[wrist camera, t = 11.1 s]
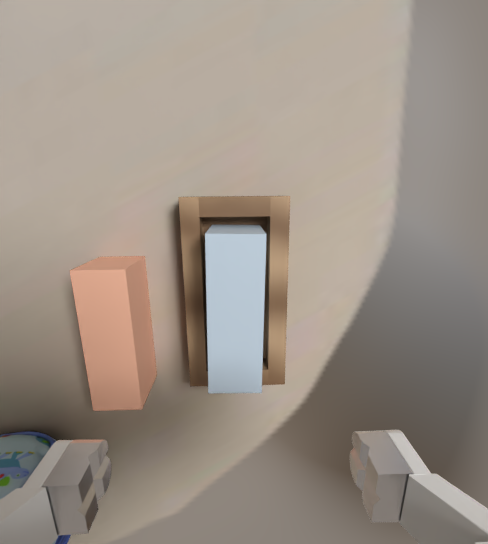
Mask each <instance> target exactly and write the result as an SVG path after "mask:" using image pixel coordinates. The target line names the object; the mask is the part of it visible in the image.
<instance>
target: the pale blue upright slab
mask: <svg viewBox="0 0 488 544" xmlns="http://www.w3.org/2000/svg"><path fill="white" fill-rule="evenodd" d="M205 253H206V300H207V346H208V393H262V364H263V332H264V299H265V267H266V233H265V231H264V230H263V229H262V228H261V226H260V225H213V224H212V225H211V227H210V228H209V229H208V231H207V232H206V233H205Z"/></svg>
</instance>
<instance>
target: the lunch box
mask: <svg viewBox="0 0 488 544" xmlns="http://www.w3.org/2000/svg"><path fill="white" fill-rule="evenodd" d="M55 442H56V440H55V439H53V438H51V437H50V436H48V435H46V434H43V433H40V432H30V431H27V432H16V433H9V434H2V435H0V500H1V499H2V498H4V497H5V496H6V495H8V494H9V493H11V492H12V491H13V490H15V489H16V488H22V487H23V485H24V484H25V483H26V481H27V480H28V478H29V477H30V476H31V474H32V473H33V471H34V470H35V469H36V467H37V466H38V464H39V463H40V462H41V460H42V459H43V457H44V456H45V455H46V453H47V452H48V450H49V449H50V448H51V446H52V445H53V444H54V443H55ZM70 536H71V535H58V538H57V539H56V540H55V541H54V542H53V543H52V544H67V542H68V540H69V538H70Z"/></svg>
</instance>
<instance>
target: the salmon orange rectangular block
mask: <svg viewBox="0 0 488 544" xmlns="http://www.w3.org/2000/svg"><path fill="white" fill-rule="evenodd" d="M70 275H71V281H72V287H73V293H74V299H75V305H76V311H77V317H78V323H79V329H80V335H81V340H82V346H83V352H84V358H85V364H86V370H87V376H88V382H89V388H90V394H91V400H92V406H93V411H107V410H140V409H142V408H143V406H144V404H145V401H146V399H147V397H148V395H149V392H150V390H151V388H152V385H153V383H154V381H155V379H156V376H157V372H156V362H155V352H154V342H153V332H152V322H151V312H150V302H149V292H148V282H147V272H146V262H145V256H124V257H98V258H96V259H94V260H92V261H89V262H87V263H85V264H83V265H81V266H79V267H76V268H74V269H72V270H70Z"/></svg>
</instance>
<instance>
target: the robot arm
mask: <svg viewBox="0 0 488 544" xmlns="http://www.w3.org/2000/svg"><path fill="white" fill-rule="evenodd" d="M352 443H353V445H354V449H353V450H352V451H351V452H350V466H351V472H352V475H353V479H354V481H355V484H356V486H358V487H359V488H360V489H361V490H362V491H363V495H362V501H363V503H364V506H365V508H366V510H367V513H368V515H369V518H370V520H371V522H400V524H401V525H402V526H403V527H404V528H405V529H406V531H407V532H408V533H409V534H410V535H411V536H412V537H413V538H414V539H415V540H416V541H417V542H418V543H419V544H488V509H487V508H486V507H484V506H483V505H481V504H480V503H478V502H477V501H476V500H474V499H472V498H471V497H469V496H468V495H467V494H465V493H464V492H462V491H461V490H459V489H457V488H456V487H455V486H453V485H452V484H450V483H449V482H447V481H446V480H444V479H443V478H442V477H440V476H439V475H437V474H431V473H430V471H429V470H428V468H427V467H426V466H425V464H424V463H423V461H422V460H421V458H420V457H419V456H418V454H417V453H416V451H415V450H414V448H413V447H412V446H411V444H410V443H409V442H408V440H407V438H406V437H405V436H404V434H403V433H402V432H401V431H400V430H384V431H360V432H354V433H353V435H352ZM108 449H109V448H108V443H107V440H58V441H56V442H55V443H54V444H53V445H52V446H51V448H50V449H49V450H48V452H47V453H46V455H45V456H44V457H43V459H42V460H41V462H40V463H39V464H38V466H37V467H36V469H35V470H34V471H33V473H32V474H31V476H30V477H29V478H28V480H27V481H26V483H25V484H24V485H23V487H22V488H16V489H15V490H13V491H12V492H11V493H9V494H8V495H6V496H5V497H4V498H2V499H1V500H0V544H52V543H53V542H54V541H55V540H56V539H57V538H58V535H72V534H85V533H89V530H90V528H91V526H92V523H93V521H94V519H95V516H96V514H97V511H98V504H97V501H98V500H99V499H100V498H101V497H102V496H103V495H104V494H105V493H106V490H107V488H108V485H109V481H110V476H111V460H110V459H109V458H108V457H107V456H106V453H107V451H108Z"/></svg>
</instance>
